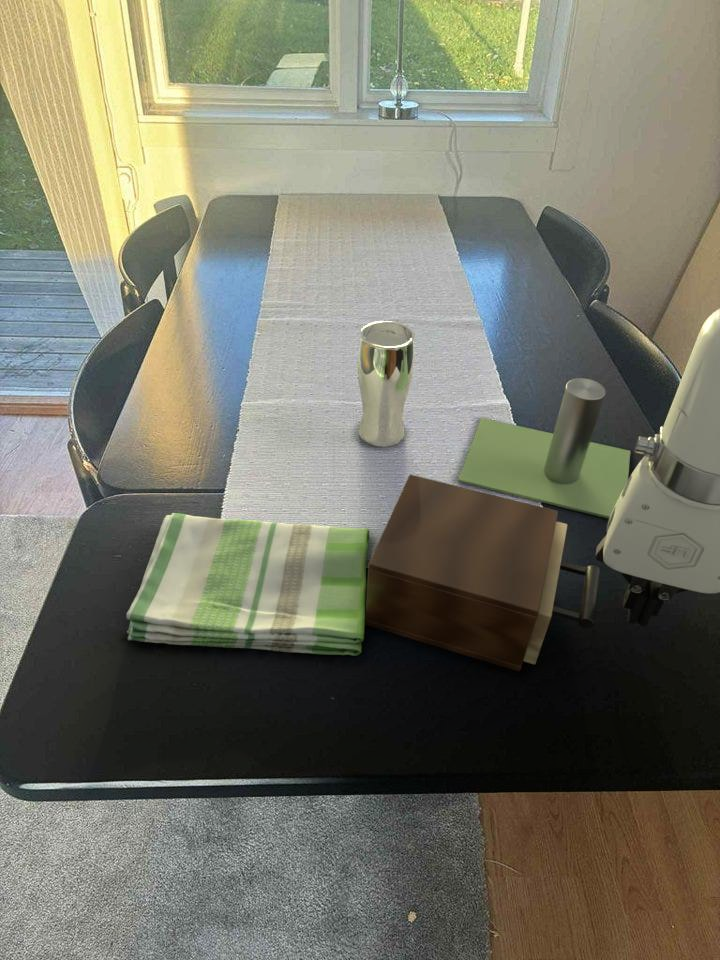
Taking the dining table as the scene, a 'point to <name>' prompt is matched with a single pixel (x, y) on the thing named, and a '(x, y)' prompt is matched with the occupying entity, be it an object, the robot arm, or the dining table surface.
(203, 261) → the dining table surface
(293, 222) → the dining table surface
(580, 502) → the placemat
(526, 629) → the cabinet
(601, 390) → the silver metal cylinder
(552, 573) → the drawer
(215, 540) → the dish towel
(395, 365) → the beer glass
